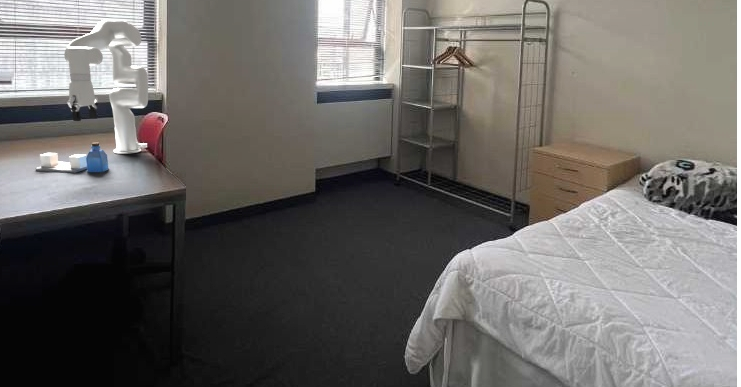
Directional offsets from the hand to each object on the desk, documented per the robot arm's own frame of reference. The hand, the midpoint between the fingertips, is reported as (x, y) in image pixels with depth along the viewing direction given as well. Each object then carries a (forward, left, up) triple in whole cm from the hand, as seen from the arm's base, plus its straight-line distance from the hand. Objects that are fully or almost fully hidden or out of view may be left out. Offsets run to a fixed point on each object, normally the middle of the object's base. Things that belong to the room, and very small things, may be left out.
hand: (85, 119), depth 226 cm
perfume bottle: (-3, +3, -22) cm, 22 cm away
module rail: (+10, -6, -22) cm, 24 cm away
